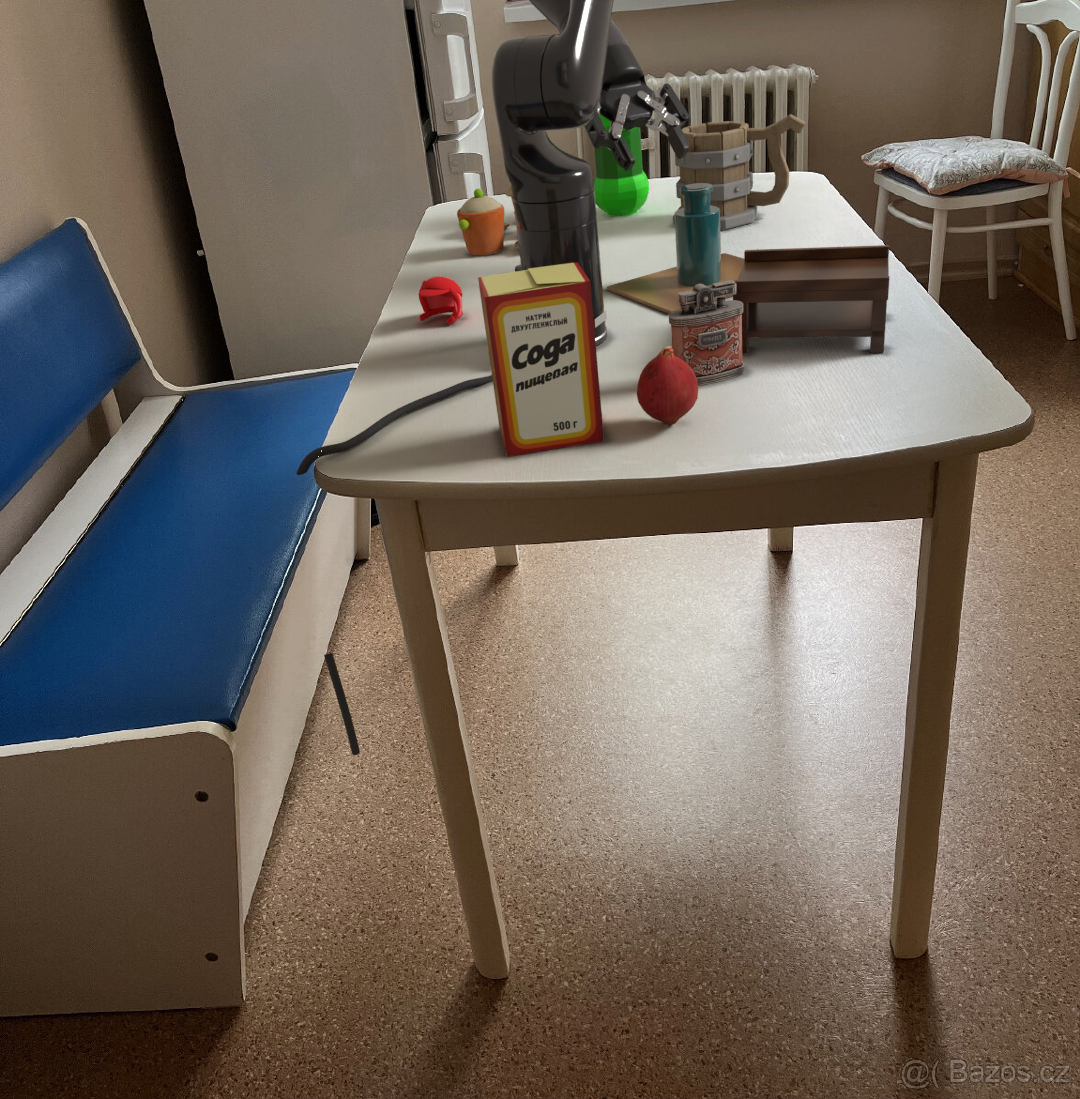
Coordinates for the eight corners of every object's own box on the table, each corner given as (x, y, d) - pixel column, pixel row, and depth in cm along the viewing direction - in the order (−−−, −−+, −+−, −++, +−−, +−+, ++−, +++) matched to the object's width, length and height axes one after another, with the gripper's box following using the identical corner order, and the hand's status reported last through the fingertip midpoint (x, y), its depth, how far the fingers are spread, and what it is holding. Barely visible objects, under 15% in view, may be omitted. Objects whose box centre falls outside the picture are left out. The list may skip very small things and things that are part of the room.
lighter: (679, 390, 108) (675, 297, 103) (666, 379, 110) (662, 288, 105) (749, 374, 109) (749, 281, 104) (735, 364, 112) (734, 273, 107)
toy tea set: (561, 252, 159) (555, 187, 154) (461, 264, 159) (452, 200, 154) (553, 213, 181) (547, 155, 176) (466, 223, 182) (458, 166, 177)
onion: (651, 442, 98) (646, 362, 94) (631, 420, 103) (625, 343, 99) (708, 429, 99) (706, 350, 95) (685, 408, 104) (682, 331, 100)
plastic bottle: (586, 211, 180) (572, 54, 167) (644, 202, 181) (635, 45, 168) (599, 224, 171) (585, 59, 158) (660, 214, 172) (652, 49, 159)
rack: (733, 354, 115) (732, 281, 111) (745, 317, 124) (744, 249, 120) (884, 353, 110) (889, 277, 106) (884, 315, 120) (889, 244, 116)
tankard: (668, 232, 162) (664, 131, 154) (683, 211, 172) (679, 115, 164) (799, 228, 156) (801, 122, 148) (806, 207, 166) (808, 107, 158)
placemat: (670, 315, 128) (670, 311, 128) (606, 289, 140) (606, 286, 140) (795, 277, 136) (795, 273, 135) (724, 256, 147) (724, 252, 147)
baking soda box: (507, 456, 99) (484, 293, 90) (499, 429, 104) (477, 273, 96) (604, 440, 99) (589, 276, 91) (591, 414, 105) (577, 258, 97)
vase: (718, 285, 134) (716, 190, 128) (674, 286, 136) (669, 193, 130) (723, 272, 139) (722, 180, 133) (681, 273, 141) (677, 182, 135)
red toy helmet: (425, 313, 140) (417, 269, 137) (468, 309, 139) (461, 265, 136) (416, 333, 133) (407, 287, 130) (461, 329, 132) (454, 283, 129)
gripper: (568, 50, 134) (622, 152, 131) (659, 34, 139) (713, 131, 136) (552, 92, 141) (603, 189, 138) (639, 75, 146) (690, 168, 143)
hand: (657, 160), depth 137 cm, fingers open, 8 cm apart
